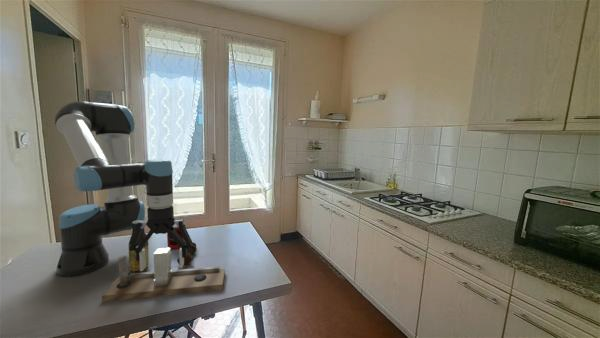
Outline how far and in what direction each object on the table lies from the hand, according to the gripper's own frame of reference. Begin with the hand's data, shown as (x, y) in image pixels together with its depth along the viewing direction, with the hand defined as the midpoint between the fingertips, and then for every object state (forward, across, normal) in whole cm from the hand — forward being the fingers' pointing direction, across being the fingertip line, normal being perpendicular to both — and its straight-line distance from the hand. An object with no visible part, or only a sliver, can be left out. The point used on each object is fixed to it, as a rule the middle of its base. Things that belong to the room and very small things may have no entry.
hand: (162, 267), depth 82 cm
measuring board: (+7, +2, 0) cm, 7 cm away
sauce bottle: (+7, -12, +12) cm, 18 cm away
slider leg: (+5, 0, 0) cm, 5 cm away
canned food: (+7, -4, +32) cm, 33 cm away
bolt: (+8, +4, +20) cm, 22 cm away
